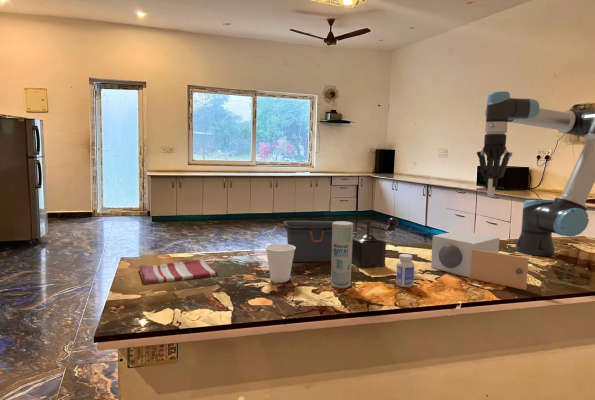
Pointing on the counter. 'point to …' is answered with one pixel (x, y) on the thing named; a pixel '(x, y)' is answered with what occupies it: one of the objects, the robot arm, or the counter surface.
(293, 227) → the storage bin
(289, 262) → the cup
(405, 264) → the pill bottle
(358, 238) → the dark manual coffee grinder
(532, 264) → the counter surface
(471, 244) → the block
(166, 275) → the dish towel
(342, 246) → the spray can
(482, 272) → the side door
